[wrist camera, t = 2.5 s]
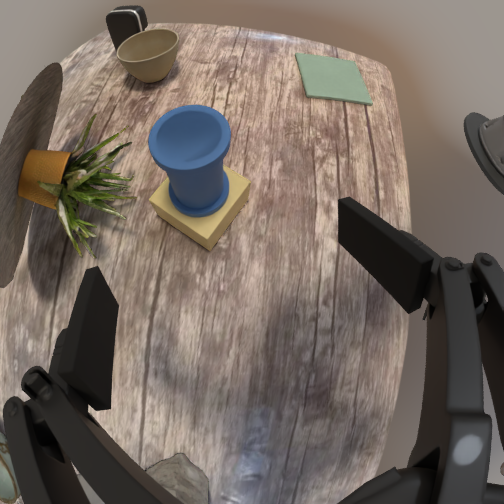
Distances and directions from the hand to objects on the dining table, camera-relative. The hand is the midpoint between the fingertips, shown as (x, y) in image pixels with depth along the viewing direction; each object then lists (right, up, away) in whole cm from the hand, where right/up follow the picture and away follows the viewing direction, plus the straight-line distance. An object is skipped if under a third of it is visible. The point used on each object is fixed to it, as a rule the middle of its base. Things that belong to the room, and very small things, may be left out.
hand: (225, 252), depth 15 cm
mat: (+16, +31, +28) cm, 44 cm away
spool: (-4, +7, +15) cm, 17 cm away
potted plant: (-22, +6, +19) cm, 29 cm away
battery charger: (-21, +38, +27) cm, 51 cm away
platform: (-5, +5, +20) cm, 21 cm away
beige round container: (-15, +30, +25) cm, 42 cm away
